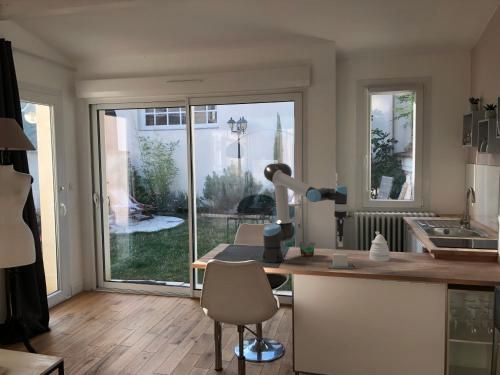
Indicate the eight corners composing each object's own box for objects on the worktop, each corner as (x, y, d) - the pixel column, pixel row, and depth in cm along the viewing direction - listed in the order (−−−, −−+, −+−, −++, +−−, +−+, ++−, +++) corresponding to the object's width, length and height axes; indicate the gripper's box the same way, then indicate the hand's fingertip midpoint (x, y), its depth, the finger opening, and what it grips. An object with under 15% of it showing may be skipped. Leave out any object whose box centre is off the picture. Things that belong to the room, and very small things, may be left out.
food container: (303, 258, 287) (303, 243, 286) (298, 256, 292) (298, 241, 292) (318, 256, 291) (318, 242, 291) (314, 254, 297) (314, 240, 296)
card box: (347, 266, 261) (347, 255, 260) (333, 266, 262) (333, 254, 262) (347, 264, 266) (347, 253, 265) (332, 264, 267) (332, 253, 267)
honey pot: (365, 258, 283) (365, 232, 282) (377, 255, 290) (377, 230, 289) (381, 262, 273) (382, 234, 271) (393, 259, 280) (394, 232, 279)
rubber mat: (328, 268, 259) (328, 267, 259) (327, 263, 272) (327, 262, 272) (353, 269, 256) (353, 268, 256) (351, 263, 269) (351, 262, 269)
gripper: (348, 213, 249) (347, 248, 250) (345, 208, 273) (344, 240, 275) (335, 213, 250) (334, 248, 252) (333, 207, 274) (332, 239, 276)
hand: (339, 244), depth 263 cm, fingers open, 13 cm apart
